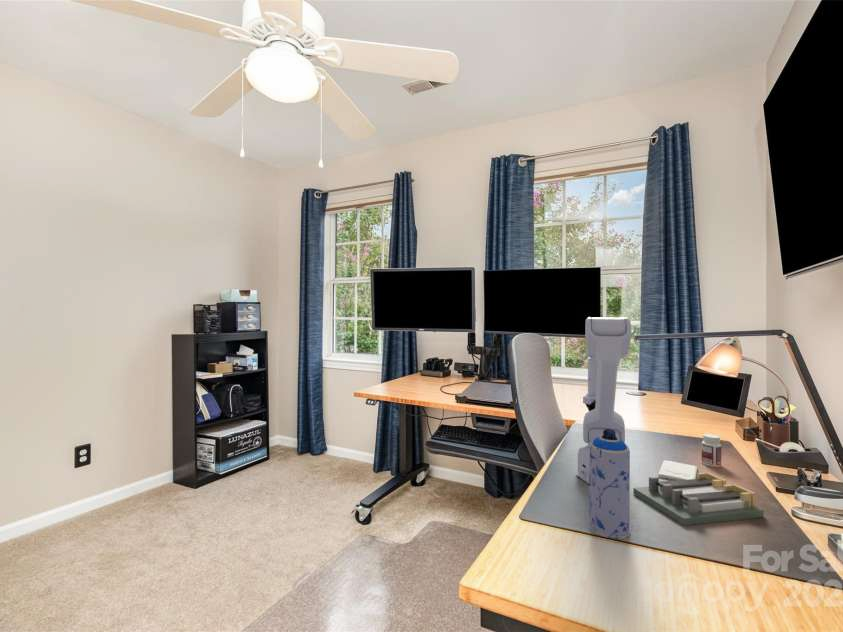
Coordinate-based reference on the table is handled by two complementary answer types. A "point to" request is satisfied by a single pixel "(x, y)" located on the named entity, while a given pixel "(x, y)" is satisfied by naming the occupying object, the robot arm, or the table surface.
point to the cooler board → (693, 518)
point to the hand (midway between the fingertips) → (597, 424)
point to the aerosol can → (609, 486)
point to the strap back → (687, 483)
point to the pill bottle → (711, 450)
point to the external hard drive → (677, 471)
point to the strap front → (712, 496)
